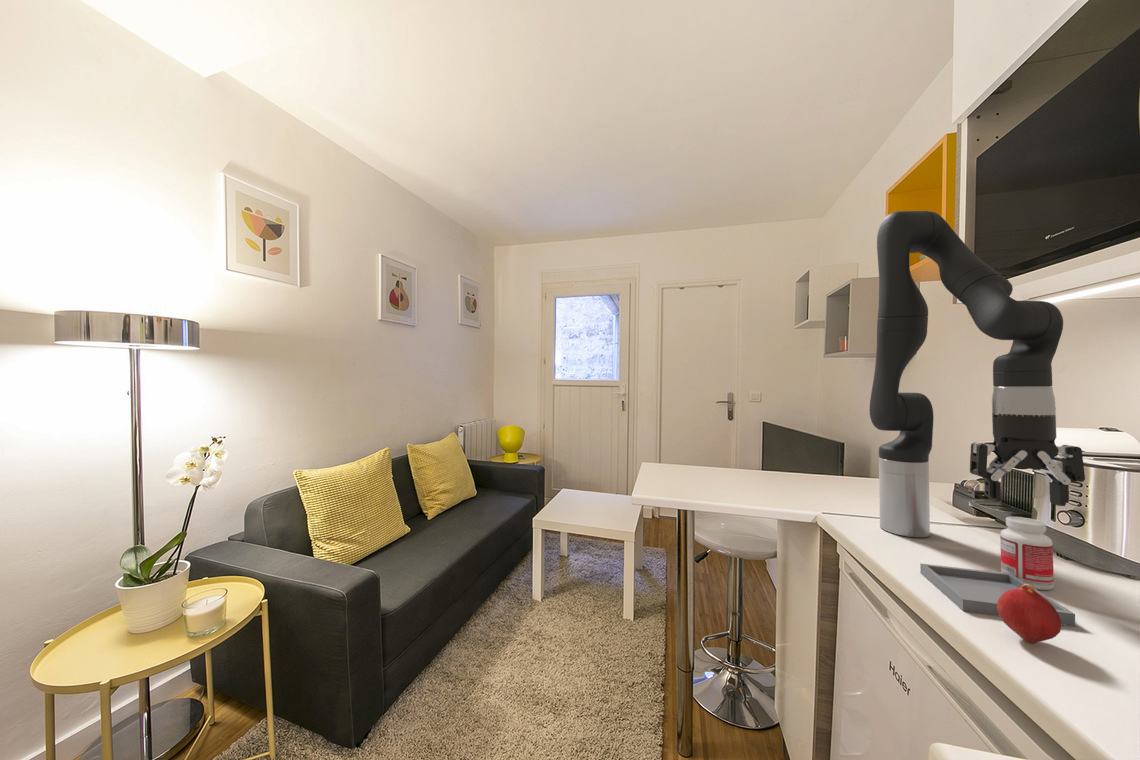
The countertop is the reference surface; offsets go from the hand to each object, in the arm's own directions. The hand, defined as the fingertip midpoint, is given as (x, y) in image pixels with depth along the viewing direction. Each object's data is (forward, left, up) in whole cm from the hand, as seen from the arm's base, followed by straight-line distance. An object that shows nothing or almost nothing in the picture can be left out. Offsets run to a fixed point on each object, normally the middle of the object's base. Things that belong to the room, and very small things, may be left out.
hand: (1025, 502), depth 71 cm
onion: (+21, -12, -14) cm, 28 cm away
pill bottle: (0, 0, -14) cm, 14 cm away
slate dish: (+8, -10, -14) cm, 19 cm away
